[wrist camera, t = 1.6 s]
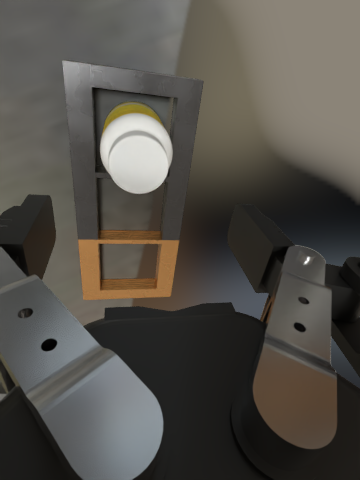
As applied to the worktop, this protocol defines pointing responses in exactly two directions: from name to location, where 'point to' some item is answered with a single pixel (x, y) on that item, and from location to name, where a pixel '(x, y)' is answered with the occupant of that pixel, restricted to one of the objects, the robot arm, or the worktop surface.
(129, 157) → the supplement bottle
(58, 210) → the worktop surface
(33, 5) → the worktop surface
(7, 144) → the worktop surface
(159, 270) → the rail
